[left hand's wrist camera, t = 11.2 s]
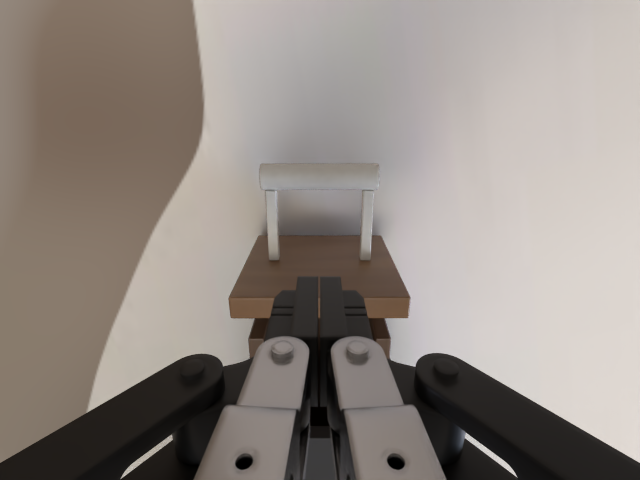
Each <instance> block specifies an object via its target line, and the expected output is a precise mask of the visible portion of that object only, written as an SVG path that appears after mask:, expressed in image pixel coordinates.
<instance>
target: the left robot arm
mask: <svg viewBox="0 0 640 480" xmlns="http://www.w3.org/2000/svg"><path fill="white" fill-rule="evenodd" d="M310 407H318V276H298V277H297V285H296V290H282V291H281V292H280V293H279V294H278V295H277V296H276V297H275V298H274V302H273V306H272V310H271V316H270V319H269V323H268V327H267V331H266V335H265V340H264V343H262V344H261V345H260V346H259V347H258V349H257V351H256V353H255V356H253V357H252V358H250V359H248V360H246V361H243V362H240V363H237V364H233V365H228V366H224V367H223V365H222V362H221V361H220V360H219V359H218V358H217V357H215V356H212V355H208V354H195V355H190V356H187V357H184V358H182V359H180V360H178V361H176V362H174V363H172V364H171V365H169V366H167V367H165V368H164V369H162V370H160V371H159V372H157V373H155V374H153V375H152V376H150V377H148V378H146V379H145V380H143V381H141V382H140V383H138V384H136V385H134V386H133V387H131V388H129V389H127V390H126V391H124V392H122V393H121V394H119V395H117V396H115V397H114V398H112V399H110V400H108V401H107V402H105V403H103V404H102V405H100V406H98V407H96V408H95V409H93V410H91V411H89V412H88V413H86V414H84V415H83V416H81V417H79V418H77V419H76V420H74V421H72V422H71V423H69V424H67V425H65V426H64V427H62V428H60V429H58V430H57V431H55V432H53V433H51V434H50V435H48V436H46V437H45V438H43V439H41V440H39V441H38V442H36V443H34V444H32V445H31V446H29V447H27V448H25V449H24V450H22V451H20V452H19V453H17V454H15V455H13V456H12V457H10V458H8V459H6V460H5V461H3V462H1V463H0V480H305V473H306V465H307V456H308V448H309V439H310ZM320 407H327V417H328V422H329V425H330V439H331V448H332V456H333V465H334V473H335V480H640V463H639V462H637V461H635V460H634V459H632V458H630V457H628V456H627V455H625V454H623V453H621V452H620V451H618V450H616V449H614V448H613V447H611V446H609V445H608V444H606V443H604V442H602V441H601V440H599V439H597V438H595V437H594V436H592V435H590V434H589V433H587V432H585V431H583V430H582V429H580V428H578V427H576V426H575V425H573V424H571V423H570V422H568V421H566V420H564V419H563V418H561V417H559V416H557V415H556V414H554V413H552V412H551V411H549V410H547V409H545V408H544V407H542V406H540V405H538V404H537V403H535V402H533V401H532V400H530V399H528V398H526V397H525V396H523V395H521V394H519V393H518V392H516V391H514V390H513V389H511V388H509V387H507V386H506V385H504V384H502V383H500V382H499V381H497V380H495V379H494V378H492V377H490V376H488V375H487V374H485V373H483V372H481V371H480V370H478V369H476V368H474V367H473V366H471V365H469V364H468V363H466V362H464V361H462V360H461V359H459V358H457V357H454V356H451V355H448V354H442V353H432V354H427V355H424V356H422V357H421V358H420V359H419V360H418V361H417V363H416V367H413V366H409V365H404V364H400V363H397V362H394V361H391V360H389V359H387V358H386V356H385V353H384V351H383V349H382V347H381V346H380V345H379V344H378V343H376V342H375V341H373V337H372V332H371V328H370V323H369V319H368V316H367V310H366V306H365V302H364V298H363V297H362V296H361V295H360V294H359V293H358V292H357V291H356V290H342V284H341V277H340V276H320ZM465 433H467V434H469V435H470V436H472V437H473V438H474V439H476V440H477V441H478V442H480V443H481V444H482V445H484V446H485V447H486V448H488V449H489V450H491V451H492V452H493V453H495V454H496V455H497V456H499V457H500V458H501V459H503V460H504V461H505V462H507V463H508V464H509V465H510V467H511V468H512V469H513V470H514V472H515V473H516V475H517V477H518V478H517V477H516V476H514V475H513V474H512V473H510V472H509V471H508V470H506V469H505V468H504V467H502V466H501V465H500V464H498V463H497V462H496V461H494V460H493V459H492V458H490V457H489V456H488V455H486V454H485V453H484V452H482V451H481V450H480V449H478V448H477V447H476V446H474V445H473V444H472V443H470V442H469V441H468V440H466V439H465ZM171 434H172V437H173V440H172V441H171V442H170V443H168V444H167V445H166V446H164V447H163V448H162V449H160V450H159V451H158V452H156V453H155V454H154V455H152V456H151V457H150V458H148V459H147V460H146V461H144V462H143V463H142V464H140V465H139V466H138V467H136V468H135V469H134V470H132V471H131V472H130V473H128V474H127V475H126V476H124V477H123V478H122V479H121V476H122V475H123V473H124V472H125V470H126V469H127V468H128V467H129V466H130V465H131V464H132V463H133V462H135V461H136V460H137V459H139V458H140V457H141V456H143V455H144V454H145V453H147V452H148V451H149V450H151V449H152V448H154V447H155V446H156V445H158V444H159V443H160V442H162V441H163V440H164V439H166V438H167V437H168V436H170V435H171Z"/></svg>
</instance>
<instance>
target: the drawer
mask: <svg viewBox="0 0 640 480" xmlns="http://www.w3.org/2000/svg"><path fill="white" fill-rule="evenodd" d="M259 179H260V187H261V189H262V190H266V191H265V197H266V215H267V232H268V236H258V238H257V240H256V242H255V244H254V246H253V248H252V250H251V252H250V255H249V257H248V259H247V261H246V263H245V265H244V267H243V269H242V271H241V273H240V275H239V277H238V280H237V282H236V284H235V286H234V288H233V290H232V292H231V294H230V296H229V307H230V316H231V318H255V319H254V322H253V326H252V329H251V332H250V335H249V339H248V341H249V353H250V358H252V357H253V356H255V353H256V351H257V349H258V347H259V346H260V345H261V344H262V343H264V340H265V335H266V331H267V327H268V323H269V319H270V316H271V310H272V306H273V302H274V298H275V297H276V296H277V295H278V294H279V293H280V292H281V291H282V290H296V285H297V277H298V276H318V407H310V426H330V425H329V422H328V417H327V407H320V276H340V277H341V284H342V290H356V291H357V292H358V293H359V294H360V295H361V296H362V297H363V298H364V302H365V306H366V310H367V316H368V319H369V323H370V328H371V332H372V337H373V341H375V342H376V343H378V344H379V345H380V346H381V347H382V349H383V351H384V353H385V356H386V358H387V359H389V357H390V345H391V338H390V334H389V331H388V328H387V324H386V321H385V318H408V317H409V309H410V299H411V298H410V296H409V294H408V291H407V289H406V287H405V285H404V283H403V281H402V279H401V277H400V275H399V272H398V270H397V268H396V266H395V264H394V262H393V260H392V258H391V256H390V254H389V251H388V249H387V247H386V245H385V243H384V241H383V239H382V237H381V236H372V219H373V200H374V190H377V189H378V187H379V179H380V171H379V165H378V164H261V165H260V171H259ZM277 190H362V209H361V233H360V236H279V227H278V205H277Z"/></svg>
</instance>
